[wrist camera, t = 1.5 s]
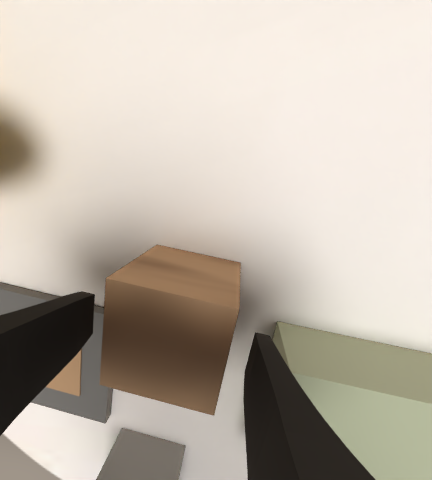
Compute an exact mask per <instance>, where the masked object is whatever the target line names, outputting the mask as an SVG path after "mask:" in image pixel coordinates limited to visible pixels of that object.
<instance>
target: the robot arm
mask: <svg viewBox="0 0 432 480" xmlns="http://www.w3.org/2000/svg"><path fill="white" fill-rule="evenodd" d="M94 298H95V294H91V293H86V292H77V293H73V294H70V295H66V296H63V297H59V298H56V299H53V300H50V301H46V302H43V303H40V304H37V305H33V306H30V307H27V308H24V309H20V310H17V311H13V312H10V313H6V314H3V315H0V435H1V434H2V433H3V432H4V431H5V430H6V429H7V427H8V426H9V425H10V424H11V423H12V421H13V420H14V419H15V418H16V417H17V416H18V415H19V414H20V413H21V412H22V411H23V410H24V408H25V407H26V406H27V405H28V404H29V403H30V402H31V401H32V400H33V399H34V398H35V397H36V396H37V395H38V394H39V393H40V392H41V391H42V390H43V389H44V388H45V387H46V386H47V385H48V384H49V383H50V382H51V381H52V380H53V379H54V378H55V377H56V376H57V375H58V374H59V373H60V372H61V371H62V370H63V368H64V367H65V366H66V365H67V364H68V363H69V362H70V361H71V360H72V359H73V358H74V357H75V356H76V355H77V354H78V352H79V351H80V350H81V349H82V347H83V346H84V345H85V343H86V342H87V341H88V339H89V338H90V337H91V335H92V334H93V321H94ZM244 416H245V434H246V452H247V469H248V480H376V479H375V478H374V477H373V476H372V475H371V474H370V473H369V472H368V471H367V469H366V468H365V467H364V466H363V465H362V464H361V463H360V462H359V461H358V459H357V458H356V457H355V456H354V455H353V454H352V452H351V451H350V450H349V449H348V448H347V447H346V445H345V444H344V443H343V442H342V441H341V439H340V438H339V437H338V436H337V434H336V433H335V432H334V431H333V429H332V428H331V427H330V426H329V424H328V423H327V422H326V421H325V419H324V418H323V417H322V415H321V414H320V413H319V411H318V410H317V409H316V407H315V406H314V405H313V403H312V402H311V400H310V399H309V398H308V396H307V395H306V393H305V392H304V390H303V389H302V388H301V386H300V384H299V383H298V381H297V380H296V378H295V377H294V375H293V374H292V372H291V370H290V369H289V367H288V366H287V364H286V362H285V361H284V359H283V357H282V356H281V354H280V352H279V351H278V349H277V347H276V345H275V344H274V342H273V340H272V339H271V337H270V336H268V335H264V334H259V333H255V336H254V339H253V343H252V347H251V350H250V354H249V358H248V362H247V365H246V369H245V378H244Z"/></svg>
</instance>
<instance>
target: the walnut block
mask: <svg viewBox="0 0 432 480" xmlns="http://www.w3.org/2000/svg"><path fill="white" fill-rule="evenodd" d="M240 269H241V263H239V262H235V261H230V260H225V259H221V258H216V257H212V256H207V255H202V254H198V253H193V252H188V251H184V250H179V249H175V248H170V247H165V246H161V245H156V246H154V247H153V248H151V249H150V250H148V251H147V252H145V253H144V254H142V255H140V256H139V257H137V258H136V259H134V260H133V261H131V262H130V263H128V264H127V265H125V266H124V267H122V268H121V269H119V270H118V271H116V272H115V273H113V274H112V275H110V276H109V277H107V278H106V285H105V301H104V318H103V334H102V351H101V367H100V384H99V385H102V386H106V387H110V388H113V389H117V390H121V391H125V392H128V393H132V394H136V395H139V396H143V397H147V398H151V399H154V400H158V401H162V402H165V403H169V404H173V405H176V406H180V407H184V408H188V409H191V410H195V411H199V412H202V413H206V414H210V415H214V413H215V409H216V405H217V401H218V397H219V392H220V388H221V384H222V380H223V376H224V371H225V367H226V363H227V359H228V355H229V351H230V346H231V342H232V338H233V334H234V330H235V325H236V321H237V317H238V313H239V305H240Z"/></svg>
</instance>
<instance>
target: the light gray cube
mask: <svg viewBox="0 0 432 480" xmlns="http://www.w3.org/2000/svg"><path fill="white" fill-rule="evenodd" d="M184 450H185V445H181V444H178V443H174V442H171V441H167V440H164V439H160V438H157V437H153V436H150V435H146V434H143V433H139V432H136V431H132V430H129V429H125V428H122V429H121V431H120V433H119V435H118V437H117V439H116V441H115V443H114V445H113V447H112V449H111V451H110V453H109V455H108V457H107V459H106V461H105V463H104V465H103V467H102V469H101V471H100V473H99V475H98V477H97V479H96V480H178V479H179V475H180V470H181V465H182V460H183V455H184Z"/></svg>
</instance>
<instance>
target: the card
mask: <svg viewBox="0 0 432 480" xmlns="http://www.w3.org/2000/svg"><path fill="white" fill-rule="evenodd" d="M56 298H59V297H58V296H53V295H49V294H45V293H41V292H37V291H33V290H29V289H25V288H21V287H16V286H12V285H8V284H4V283H0V315H3V314H6V313H10V312H13V311H17V310H20V309H24V308H27V307H30V306H33V305H37V304H40V303H43V302H46V301H50V300H53V299H56ZM103 318H104V308H103V307H99V306H95V305H94V321H93V334H92V335H91V337H90V338H89V339H88V341H87V342H86V343H85V345H84V346H83V347H82V349H81V350H80V351H79V352H78V354H77V355H76V356H75V357H74V358H73V359H72V360H71V361H70V362H69V363H68V364H67V365H66V366H65V367H64V368H63V370H62V371H61V372H60V373H59V374H58V375H57V376H56V377H55V378H54V379H53V380H52V381H51V382H50V383H49V384H48V385H47V386H46V387H45V388H44V389H43V390H42V391H41V392H40V393H39V394H38V395H37V396H36V397H35V398H34V399H33V400H32V401H31V402H32V403H35V404H39V405H42V406H46V407H49V408H53V409H56V410H60V411H63V412H67V413H70V414H74V415H77V416H81V417H84V418H88V419H92V420H95V421H99V422H102V423H106V422H107V420H108V418H109V416H110V412H111V400H112V388H110V387H106V386H102V385H99V384H100V367H101V351H102V334H103Z"/></svg>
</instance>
